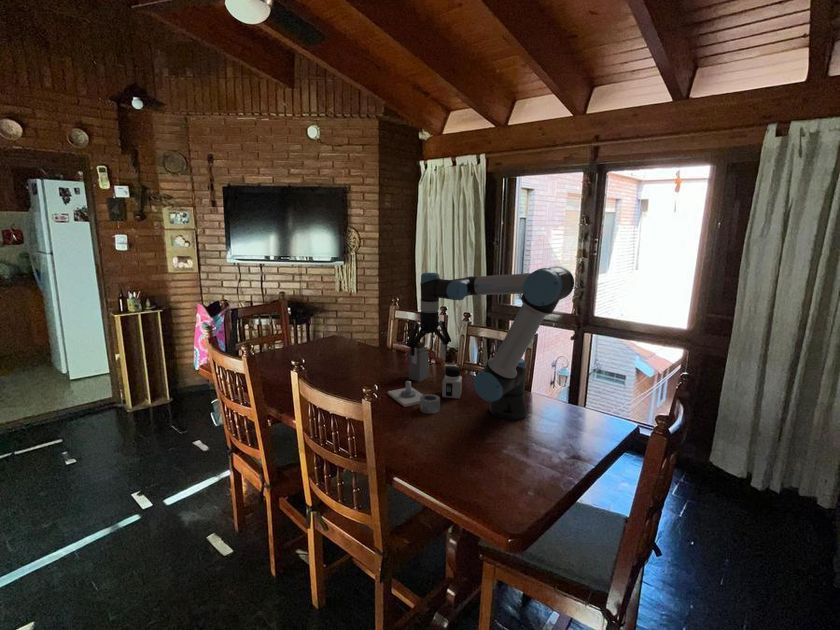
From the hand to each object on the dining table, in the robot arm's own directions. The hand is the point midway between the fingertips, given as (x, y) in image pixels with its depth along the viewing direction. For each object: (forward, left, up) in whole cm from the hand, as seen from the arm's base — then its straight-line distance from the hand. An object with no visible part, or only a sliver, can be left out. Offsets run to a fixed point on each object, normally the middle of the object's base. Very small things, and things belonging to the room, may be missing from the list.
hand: (428, 360), depth 183 cm
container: (+2, -14, -19) cm, 24 cm away
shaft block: (+8, +5, -19) cm, 21 cm away
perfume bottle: (+27, -11, -19) cm, 35 cm away
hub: (-7, +3, -19) cm, 20 cm away
